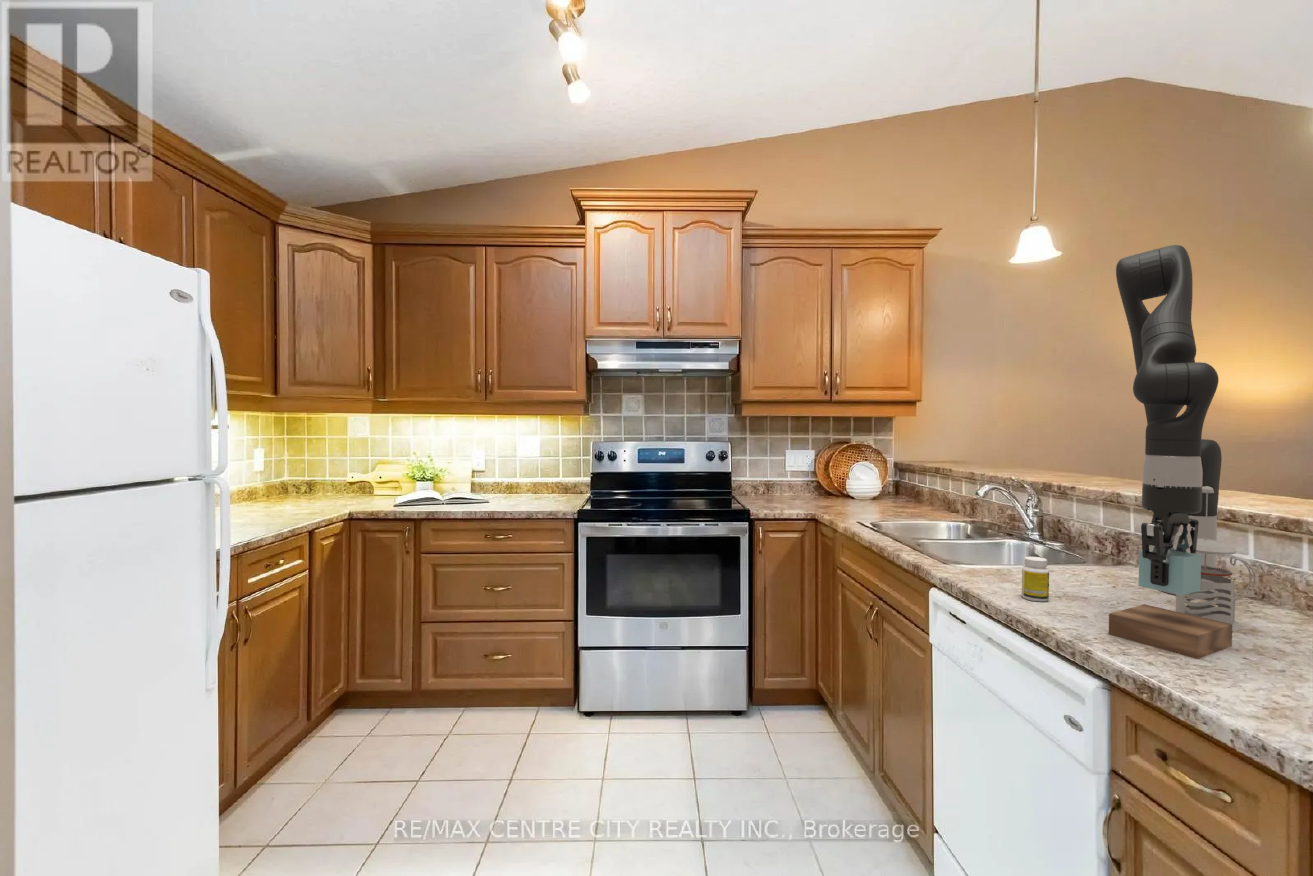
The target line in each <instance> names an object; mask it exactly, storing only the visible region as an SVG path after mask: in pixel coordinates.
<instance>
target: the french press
mask: <svg viewBox="0 0 1313 876" xmlns="http://www.w3.org/2000/svg"><path fill="white" fill-rule="evenodd" d="M1202 493H1206V528H1205V538H1202V539H1197V547H1196V552H1199V553H1205V565H1204V566H1202V565H1201V579H1206V580H1209V581H1212V582H1214V583H1212V582H1204V581H1200V591H1197V592H1193V593H1206V595H1201V596H1197V595H1190V594H1193V593H1190V594H1186V595H1179V594H1176V595H1175V611H1176V612H1180V613H1185V614H1189V615H1194V616H1198V617H1202V618H1207V619H1211V620H1215V621H1220V622H1224V623H1229V624H1232V632H1235V631H1240V630H1242V628H1241V626H1240V625H1239V624H1238V623H1237V622H1236V621H1235V618H1236V617H1235V615H1236V614H1235V613H1236V611H1235V610H1236V601H1237V600H1239V599H1242V598H1247V596H1249V595H1250V594H1252V592H1253V591H1254V590H1255V587H1256V585H1257V574H1256V572H1255V570H1254V569H1253V567H1252V566H1251V564H1249V563H1248V562H1247V561H1245V560H1243V559H1242V558H1239V557H1236V556H1231V557H1229V563H1230V565H1231V566H1233V567H1234V566H1235V567H1236V564H1237V561H1240V562H1241V563H1242V564H1244V565H1245V566H1246V569H1247V571H1248V574H1249V581H1248V584H1247V586H1246V587H1245V589H1244V590H1242V591H1241V592H1238V593H1235V581H1234V580H1233V581H1232V579H1230V578H1227V577H1229V576H1232V575H1233V572H1232V571H1231V570H1227V569H1226V568H1220V567H1217V566H1216V567H1215V568H1214V567H1213V568H1212V567H1209V566H1208V567H1207V566H1206V553H1207V554H1216V555H1224V556H1225V555H1227V556H1228V555H1235V554H1236V553H1237V550H1236V549H1234V548H1233V547H1232V546H1230V545H1228V544H1226V543H1223V542H1220V541H1214V540H1210V539H1208V538H1207V505H1208V493H1214V490H1213V488H1211V487H1208V486H1204V487H1202ZM1233 559H1234V560H1233ZM1252 574H1253V577H1252ZM1252 579H1253V583H1252ZM1251 584H1252V587H1251V589H1250V591H1249V592H1248V593H1246V592H1247V591H1248V589H1249V588H1250V586H1251ZM1213 589H1214V590H1215V593H1214V592H1211V591H1208V590H1213ZM1244 593H1246V594H1245V595H1243V594H1244ZM1241 595H1242V596H1241ZM1210 597H1213V598H1210ZM1214 598H1216V599H1214ZM1195 600H1204V601H1201V602H1200V601H1199V602H1197V601H1196V602H1193V601H1195ZM1191 601H1192V602H1191ZM1214 605H1217V606H1214Z"/></svg>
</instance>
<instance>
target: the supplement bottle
mask: <svg viewBox="0 0 1313 876" xmlns="http://www.w3.org/2000/svg"><path fill="white" fill-rule="evenodd" d="M1023 560H1024V562H1023V563H1024V564H1023V565H1024V566H1022V567H1021V568H1022V569H1021V571H1022V572H1021V597H1022V598H1023V599H1026V600H1028V601H1032V602H1040V603H1044V602H1048V601H1049V598H1050V570H1049V569H1048V568H1047V567H1048V559H1046V558H1044V557H1038V556H1025V557H1024V559H1023Z"/></svg>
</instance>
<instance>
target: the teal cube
mask: <svg viewBox="0 0 1313 876" xmlns="http://www.w3.org/2000/svg"><path fill="white" fill-rule="evenodd" d="M1149 551H1150V548H1149ZM1156 553H1157V552H1156ZM1138 557H1139V558H1138V587H1140V588H1141V587H1142V588H1146V589H1152V590H1156V591H1159V592H1160V591H1161V592H1164V591H1165V593H1167V592H1170V593H1174V594H1173V595H1175V594H1179V595H1186V594H1190V593H1193V592H1197V591H1200V581H1201V555H1200V554H1193V553H1185V552H1181V551H1173V552H1171V556H1170V560H1169V563H1168V564H1169V582H1168V585H1167V586H1160V585H1155V584H1152V583H1151V582H1150V574H1151V561H1149V560H1148V559H1147V558H1143V555H1142V550H1139V552H1138ZM1170 593H1169V594H1170Z"/></svg>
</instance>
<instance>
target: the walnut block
mask: <svg viewBox="0 0 1313 876" xmlns="http://www.w3.org/2000/svg"><path fill="white" fill-rule="evenodd" d="M1108 635H1110V636H1114V637H1116V638H1120V639H1123V640H1128V641H1130V642H1135V643H1138V644H1142V645H1145V646H1149V647H1153V648H1157V649H1159V650H1163V651H1167V652H1170V653H1175V654H1177V655H1178V654H1179V655H1180V656H1181V655H1182V656H1185V657H1188V658H1191V659H1195V660H1199V659H1202V658H1205V657H1207V656H1210V655H1212V654H1215V653H1217V652H1220V651H1223V650H1226V649H1228V648H1231V647H1233V631H1232V624H1229V623H1224V622H1220V621H1215V620H1211V619H1207V618H1202V617H1198V616H1194V615H1189V614H1185V613H1180V612H1176V610H1171V609H1166V608H1162V607H1158V606H1154V605H1150V604H1145V603H1144V604H1140V605H1136V606H1132V607H1128V608H1125V609H1122V610H1117V611H1114V612H1109V613H1108Z"/></svg>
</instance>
